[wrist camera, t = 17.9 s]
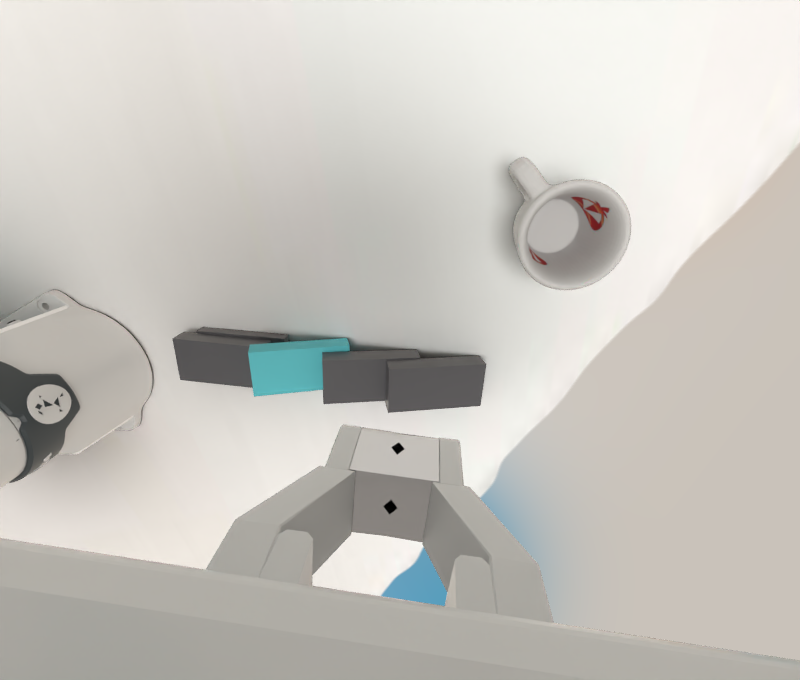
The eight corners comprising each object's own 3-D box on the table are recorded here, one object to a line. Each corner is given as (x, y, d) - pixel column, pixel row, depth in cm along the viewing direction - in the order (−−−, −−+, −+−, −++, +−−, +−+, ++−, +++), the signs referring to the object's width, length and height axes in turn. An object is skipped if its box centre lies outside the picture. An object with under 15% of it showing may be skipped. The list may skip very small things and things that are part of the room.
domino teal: (349, 345, 41) (248, 352, 38) (350, 386, 43) (254, 396, 40) (346, 337, 43) (249, 344, 40) (347, 377, 45) (255, 386, 42)
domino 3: (420, 357, 40) (322, 361, 39) (417, 398, 42) (323, 404, 41) (416, 349, 42) (322, 352, 40) (413, 389, 44) (323, 393, 42)
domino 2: (263, 347, 41) (172, 338, 41) (267, 389, 43) (180, 379, 43) (271, 340, 42) (184, 331, 43) (274, 380, 44) (191, 371, 45)
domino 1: (284, 338, 42) (196, 330, 43) (287, 379, 44) (203, 370, 45) (291, 332, 44) (207, 324, 45) (293, 371, 46) (213, 363, 47)
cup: (468, 193, 36) (474, 198, 28) (546, 129, 33) (575, 116, 26) (533, 284, 38) (554, 310, 31) (611, 232, 35) (653, 247, 28)
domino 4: (486, 364, 40) (389, 369, 38) (480, 405, 42) (388, 412, 40) (479, 355, 42) (386, 360, 40) (473, 395, 44) (385, 401, 42)
